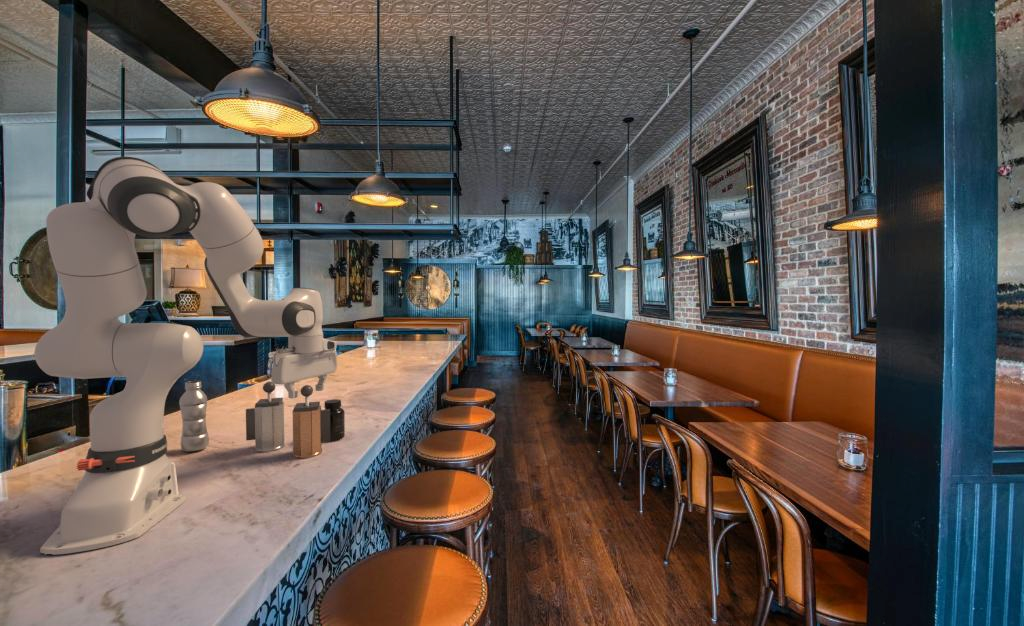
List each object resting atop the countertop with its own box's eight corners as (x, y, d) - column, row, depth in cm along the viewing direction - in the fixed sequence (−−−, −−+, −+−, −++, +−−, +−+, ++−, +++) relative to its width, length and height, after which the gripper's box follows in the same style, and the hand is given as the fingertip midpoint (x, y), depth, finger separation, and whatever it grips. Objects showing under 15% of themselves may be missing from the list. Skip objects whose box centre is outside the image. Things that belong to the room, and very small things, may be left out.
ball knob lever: (314, 433, 117) (313, 383, 116) (313, 437, 114) (312, 385, 113) (302, 434, 116) (301, 384, 115) (300, 438, 113) (299, 386, 112)
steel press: (243, 454, 114) (242, 405, 114) (250, 445, 121) (249, 399, 121) (282, 450, 117) (281, 402, 117) (286, 441, 124) (285, 396, 124)
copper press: (331, 446, 121) (330, 400, 120) (329, 455, 114) (328, 406, 113) (295, 450, 117) (294, 402, 117) (291, 460, 110) (290, 409, 110)
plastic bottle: (197, 454, 114) (195, 384, 113) (174, 454, 114) (172, 384, 113) (214, 446, 120) (213, 379, 120) (192, 446, 121) (191, 379, 120)
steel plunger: (262, 433, 117) (261, 383, 117) (264, 429, 120) (264, 381, 120) (275, 431, 119) (274, 382, 118) (277, 428, 122) (276, 380, 121)
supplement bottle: (316, 440, 125) (315, 402, 125) (332, 433, 132) (331, 397, 131) (334, 443, 123) (333, 404, 123) (349, 436, 130) (349, 399, 129)
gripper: (283, 350, 103) (284, 403, 104) (340, 342, 123) (341, 387, 123) (264, 349, 105) (265, 401, 106) (324, 341, 125) (324, 385, 125)
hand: (306, 394), depth 114 cm, fingers open, 8 cm apart
